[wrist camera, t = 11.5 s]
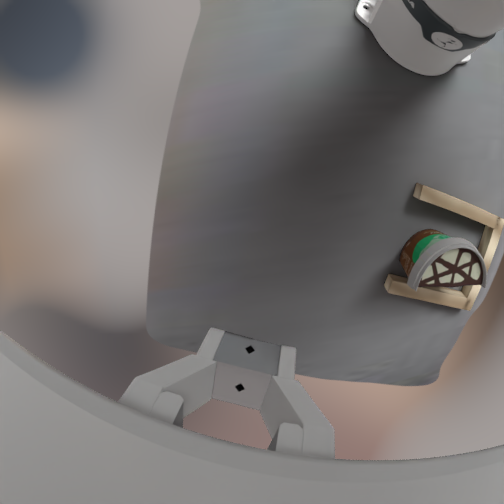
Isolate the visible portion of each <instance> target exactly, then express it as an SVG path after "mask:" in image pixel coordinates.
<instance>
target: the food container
mask: <svg viewBox="0 0 504 504" xmlns="http://www.w3.org/2000/svg"><path fill="white" fill-rule="evenodd" d="M399 261H400V263H401V265H402V267H403V268H404V270H405V272H406V274H407V276H408V282H407V285H408V286H409V287H410V288H412V289H414V290H415V291H416V292H417V288H418V287H420V288H421V287H459V286H467V285H481V286H482V287H484V288H486V283H487V270H486V266H485V262H484V260H483V257H482V256H481V254H480V253H479V251H478V250H477V249H476V247H475V246H474V245H473V244H472V243H471V242H469V241H468V240H465V239H463V238H457V237H452V238H451V237H449V236H447V235H445V234H443V233H441V232H439V231H436V230H433V229H425V230H422V231H419V232H417V233H416V234H414V235H413V236H412V237H411V238H410V239H409V240H408V241H407V242H406V244H405V246H404V247H403V249H402V252H401V255H400V260H399Z"/></svg>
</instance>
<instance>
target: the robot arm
mask: <svg viewBox="0 0 504 504" xmlns="http://www.w3.org/2000/svg"><path fill="white" fill-rule="evenodd" d="M363 7H366V8H368V9H364V8H363ZM355 15H356V17H357V18H358V19H359V20H360V21H361V22H362V23H363V24H365V25H366V26H367V27H368V28H369V29H370V30H371V31H372V33H373V35H374V36H375V38H376V40H377V41H378V43H379V44H380V46H381V47H382V48H383V50H384V51H385V52H386V53H387V54H388V55H389V56H390V57H391V58H392V59H394V60H395V61H396V62H397V63H399V64H400V65H402V66H403V67H405V68H407V69H409V70H411V71H413V72H416V73H419V74H422V75H429V76H436V75H441V74H444V73H446V72H447V71H449V70H450V69H451V68H452V67H453V66H454V65H456V64H461V63H466V62H468V61H469V60H470V58H471V55H470V54H472V53H473V52H474V51H476V50H477V49H478V48H480V47H481V46H482V45H484V44H485V43H487V42H488V41H489V40H490V39H492V38H493V37H494V36H495V34H496V32H498V31H500V30H502V29H504V0H359V2H358V5H357V7H356V9H355ZM295 362H296V348H295V347H290V346H284V345H277V344H273V343H268V342H264V341H260V340H256V339H252V338H249V337H245V336H241V335H238V334H234V333H231V332H227V331H223V330H220V329H216V328H213V327H211V328H210V329H209V331H208V333H207V335H206V336H205V338H204V340H203V342H202V344H201V346H200V348H199V350H198V352H197V354H196V355H193V354H191V355H188V356H186V357H184V358H181V359H179V360H177V361H174V362H172V363H170V364H167V365H165V366H162V367H160V368H158V369H155V370H153V371H150V372H148V373H145V374H142V375H140V376H137V377H135V378H134V380H133V381H132V383H131V384H130V386H129V387H128V388H127V390H126V391H125V393H124V394H123V396H122V397H121V398H120V400H119V401H118V402H117V401H114V400H112V399H110V398H108V397H106V396H104V395H102V394H100V393H98V392H96V391H94V390H92V389H90V388H88V387H86V386H85V385H83V384H81V383H79V382H77V381H75V380H74V379H72V378H70V377H68V376H67V375H65V374H64V373H62V372H60V371H58V370H57V369H55V368H54V367H52V366H50V365H49V364H47V363H46V362H44V361H43V360H41V359H40V358H38V357H37V356H35V355H34V354H32V353H31V352H29V351H28V350H26V349H25V348H24V347H22V346H21V345H19V344H18V343H17V342H15V341H14V340H13V339H11V338H10V337H9V336H7V335H6V334H5V333H4V332H2V331H1V330H0V504H504V445H500V446H496V447H492V448H488V449H484V450H479V451H474V452H469V453H463V454H457V455H450V456H442V457H434V458H423V459H410V460H377V461H376V460H374V461H373V460H345V459H335V442H334V441H335V439H334V428H333V427H332V425H331V424H330V423H329V421H328V420H327V419H326V417H325V416H324V415H323V413H322V412H321V411H320V409H319V408H318V407H317V405H316V404H315V403H314V401H313V400H312V399H311V397H310V396H309V395H308V393H307V392H306V391H305V389H304V388H303V387H302V386H301V384H300V382H299V381H297V380H294V376H295ZM211 398H213V399H217V400H221V401H225V402H229V403H233V404H237V405H241V406H244V407H248V408H252V409H256V410H260V413H261V415H262V417H263V420H264V422H265V425H266V427H267V429H268V431H269V433H270V435H271V438H272V441H271V443H270V445H269V447H268V449H267V450H265V449H259V448H255V447H250V446H245V445H241V444H237V443H233V442H229V441H225V440H221V439H217V438H213V437H210V436H207V435H203V434H200V433H197V432H194V431H190V430H187V429H184V428H183V418H184V417H186V416H187V415H189V414H190V413H192V412H193V411H195V410H196V409H198V408H199V407H201V406H202V405H204V404H205V403H206V402H208V401H209V400H211Z"/></svg>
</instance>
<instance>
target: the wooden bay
mask: <svg viewBox="0 0 504 504" xmlns="http://www.w3.org/2000/svg"><path fill="white" fill-rule="evenodd" d="M413 197H415V198H418V199H420V200H423V201H425V202H428V203H431V204H434V205H437V206H439V207H442V208H445V209H447V210H450V211H453V212H455V213H458V214H460V215H463V216H465V217H468V218H470V219H473V220H475V221H477V222H480V223H482V224H484V225H485V229H484V232H483V235H482V238H481V241H480V244H479V247H478V251H479V253H480V254H481V256H482V257H483V260H484V262H485V266H486V270H487V271H488V269H489V266H490V264H491V261H492V258H493V256H494V253H495V250H496V247H497V244H498V241H499V238H500V235H501V232H502V229H503V225H504V219H502V218H500V217H498V216H496V215H494V214H492V213H489V212H487V211H485V210H483V209H481V208H478V207H476V206H474V205H472V204H469V203H467V202H465V201H462V200H460V199H458V198H455V197H453V196H450V195H448V194H445V193H443V192H440V191H437V190H435V189H432V188H430V187H427V186H424V185H421V184H418V183H416V186H415V190H414V194H413ZM407 282H408V278H405V277H401V276H397V275H393V274H388V276H387V279H386V281H385V284H384V286H385V288H386V290H387V292H388V293H391V294H395V295H400V296H404V297H409V298H413V299H418V300H423V301H427V302H432V303H436V304H441V305H446V306H450V307H455V308H459V309H464V310H469V311H470V310H471V308H472V306H473V304H474V301H475V299H476V297H477V295H478V293H479V290H480V288H481V285H467V286H463V288H462V290H461V291H457V290H453V289H449V288H445V287H421V288H420V287H418V288H417V292H416V291H415V290H414V289H412V288H410V287H409V286H408V285H407Z"/></svg>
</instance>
